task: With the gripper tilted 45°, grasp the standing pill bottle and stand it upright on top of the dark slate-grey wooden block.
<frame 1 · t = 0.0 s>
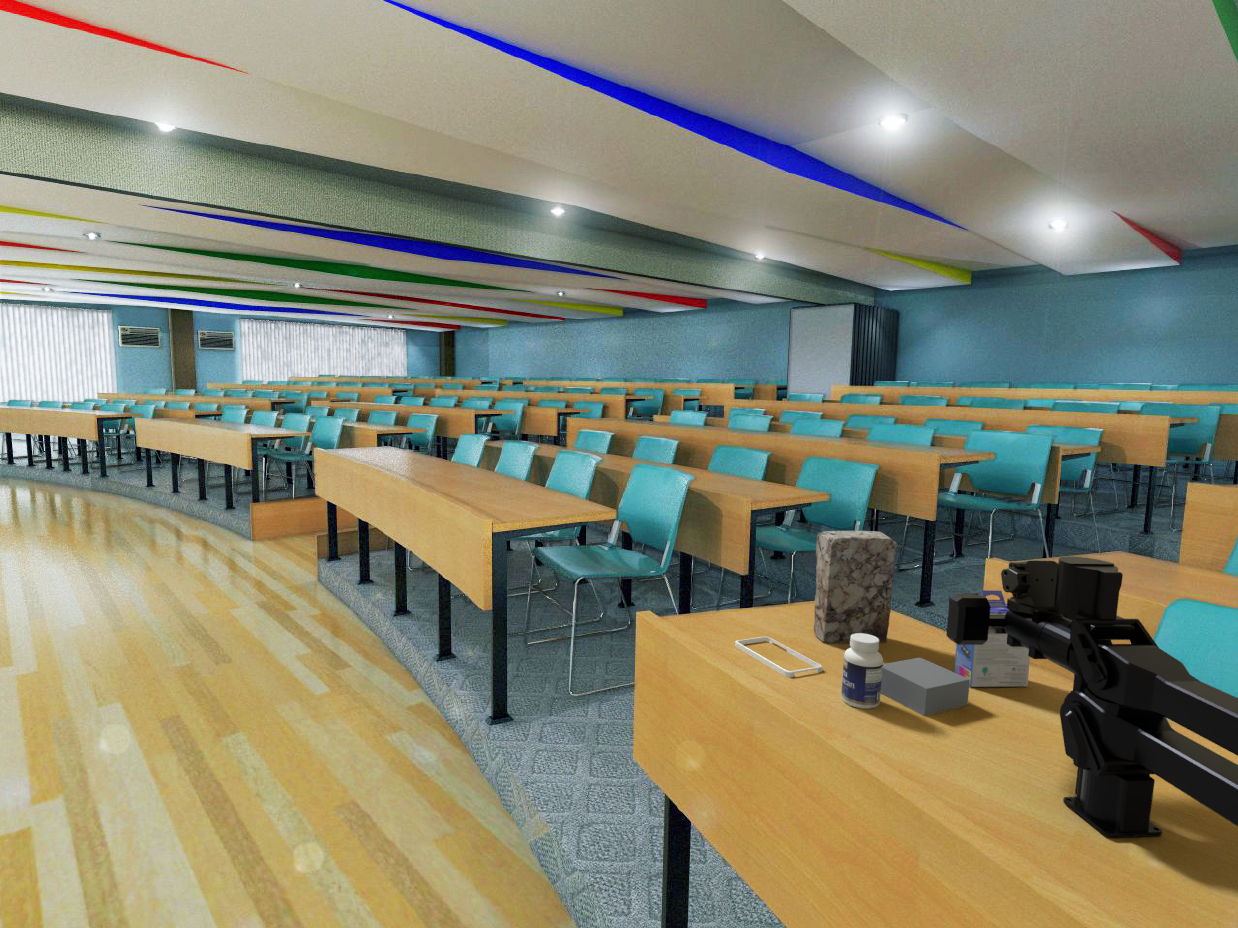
hand: (980, 600, 99), 17 cm above the table, tool horizontal, fingers open, 9 cm apart
pill bottle: (859, 702, 103), on the table
ink cartridge box: (989, 681, 112), on the table
stone block: (849, 639, 129), on the table
phone case: (776, 661, 119), on the table
slate block: (920, 697, 105), on the table
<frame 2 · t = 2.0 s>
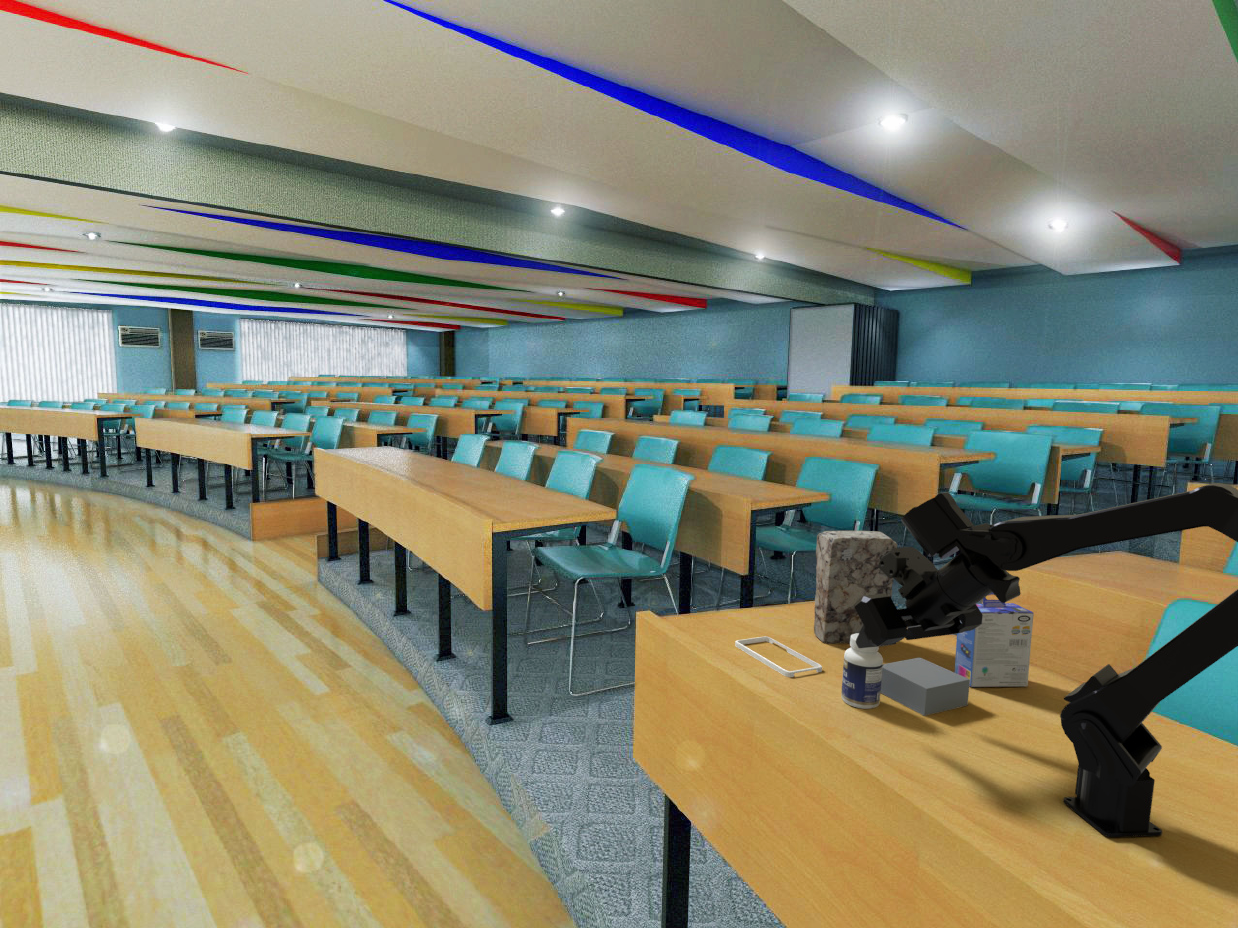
hand: (882, 640, 99), 10 cm above the table, tool tilted 45°, fingers open, 9 cm apart
nothing on the table moved.
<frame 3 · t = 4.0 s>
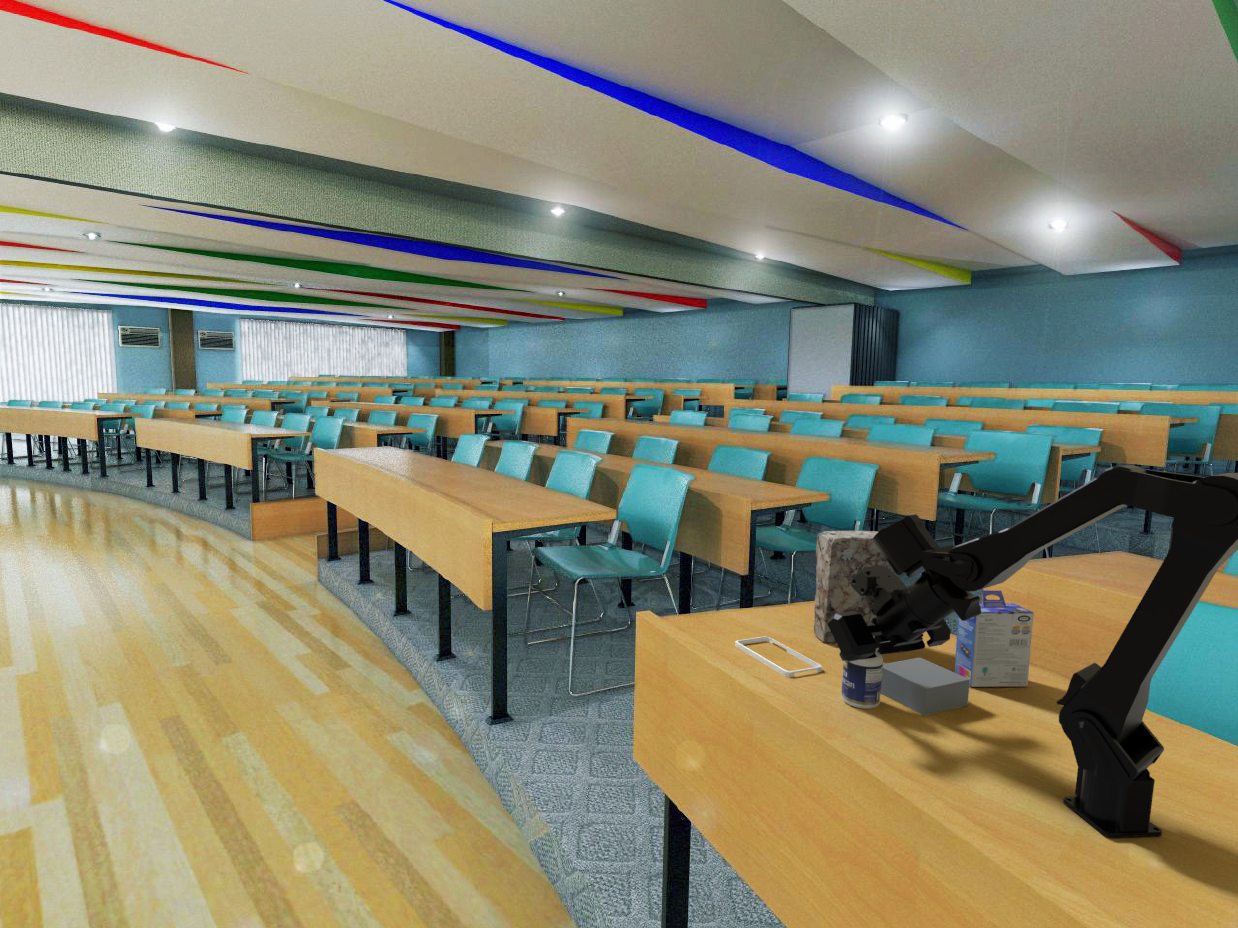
hand: (856, 654, 103), 7 cm above the table, tool tilted 45°, fingers closed on pill bottle, 5 cm apart
pill bottle: (859, 702, 103), on the table, touching gripper
everything else where it was.
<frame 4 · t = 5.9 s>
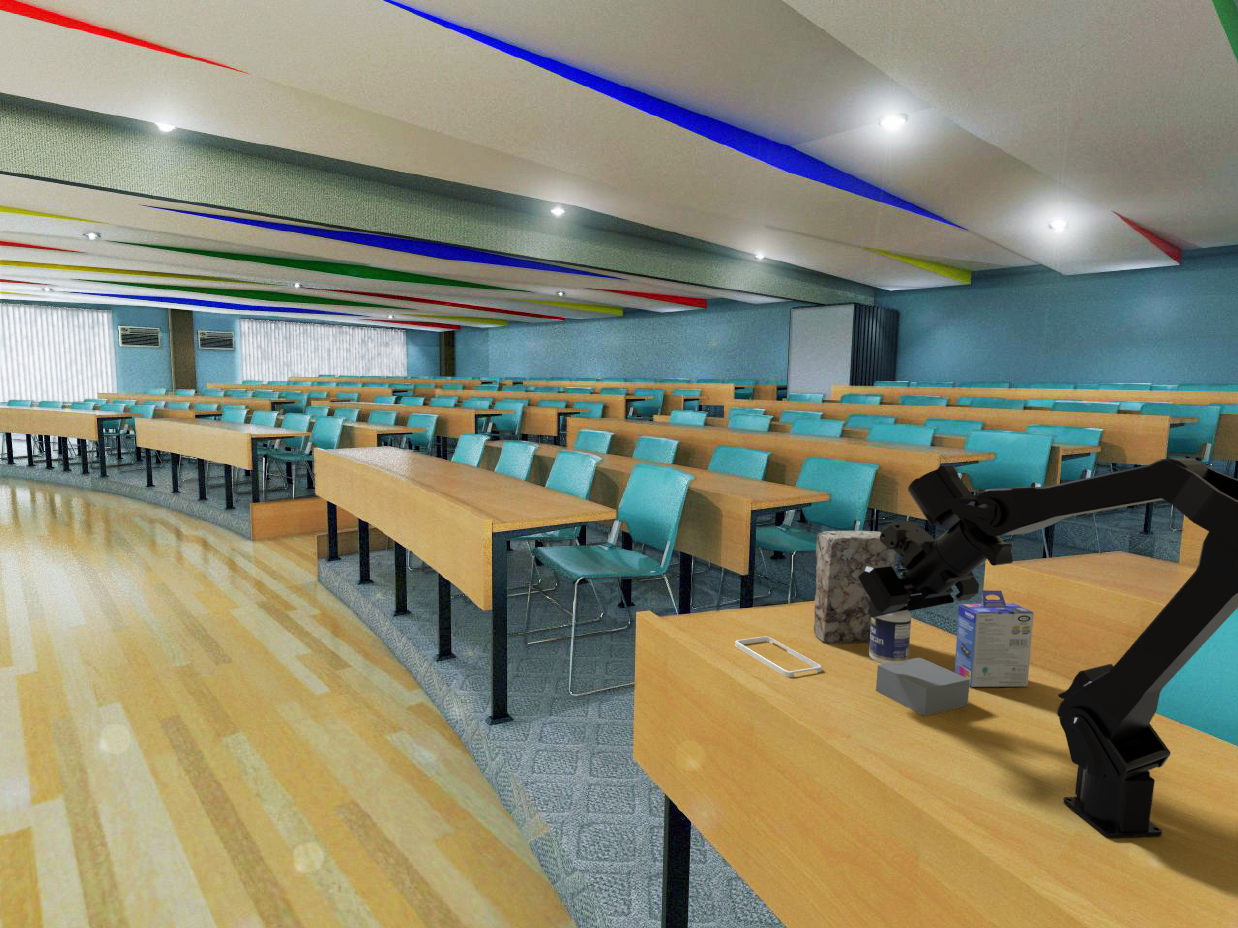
hand: (883, 612, 103), 13 cm above the table, tool tilted 45°, fingers closed on pill bottle, 5 cm apart
pill bottle: (888, 660, 102), point 6 cm above the table, touching gripper
everything else where it was.
when the fingers open (12 cm above the table, at t = 7.8 s): pill bottle drops 1 cm, resting on slate block.
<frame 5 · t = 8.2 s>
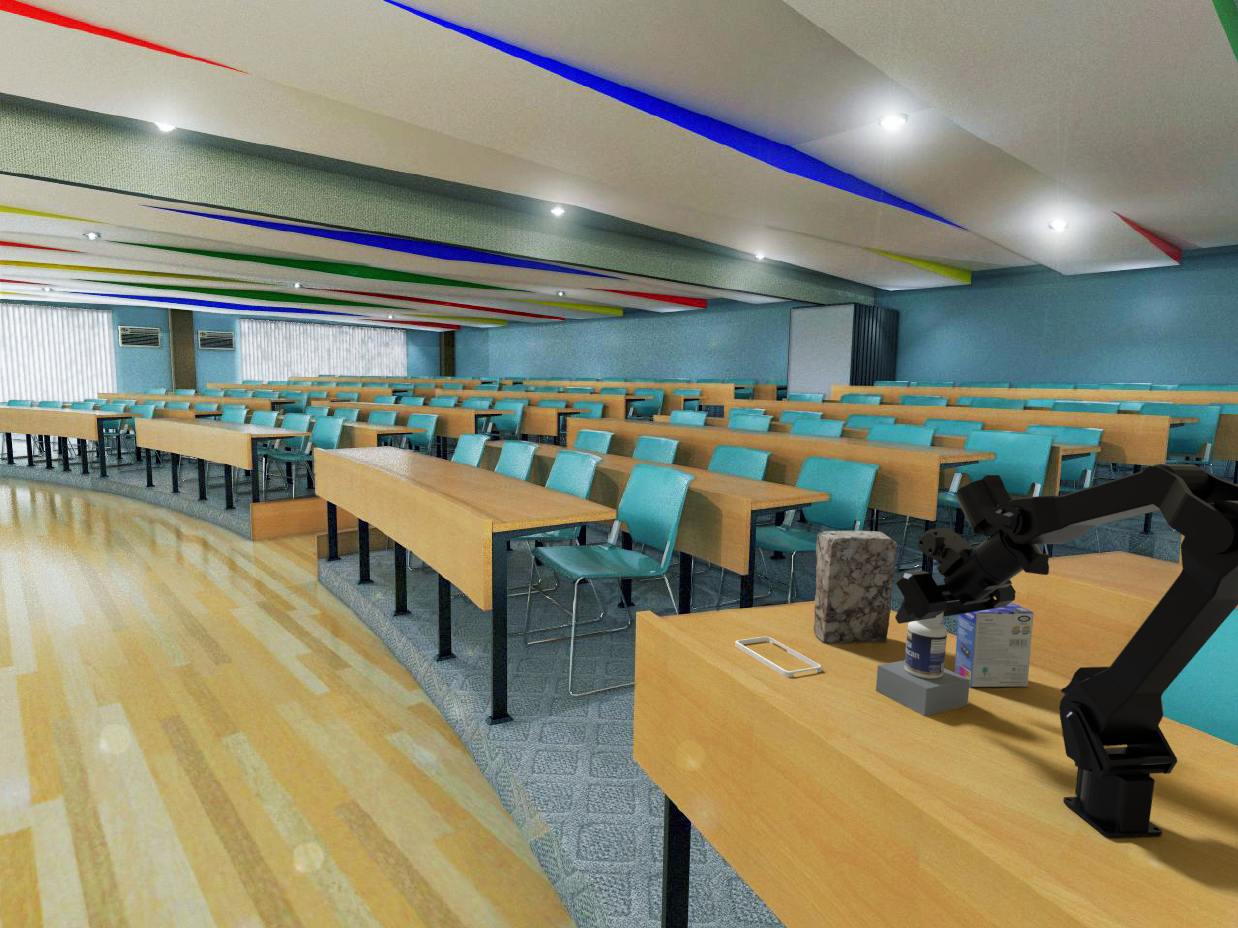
hand: (919, 617, 105), 12 cm above the table, tool tilted 45°, fingers open, 9 cm apart
pill bottle: (923, 673, 104), point 4 cm above the table, touching slate block
everything else where it was.
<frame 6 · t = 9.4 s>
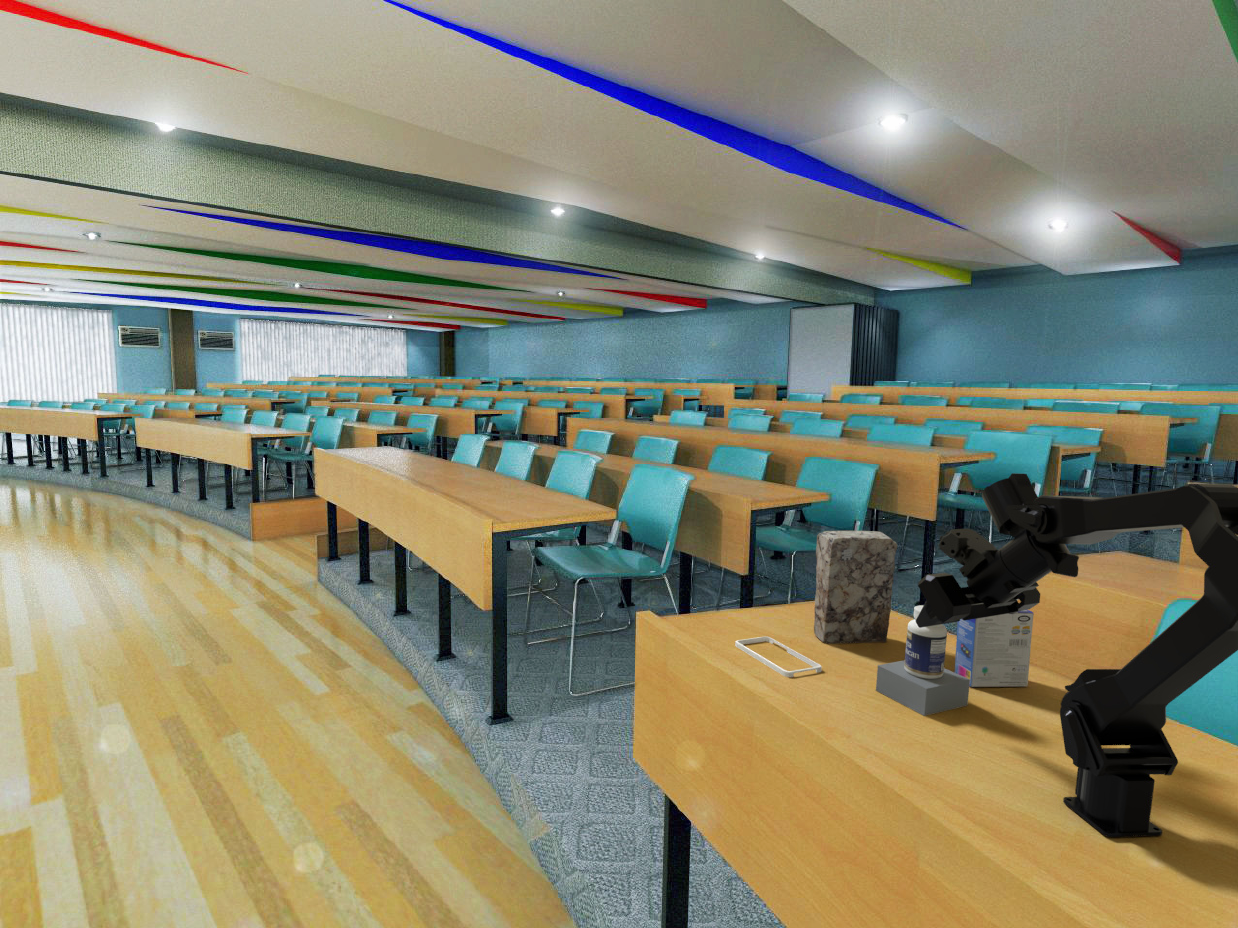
hand: (940, 620, 101), 13 cm above the table, tool tilted 45°, fingers open, 9 cm apart
nothing on the table moved.
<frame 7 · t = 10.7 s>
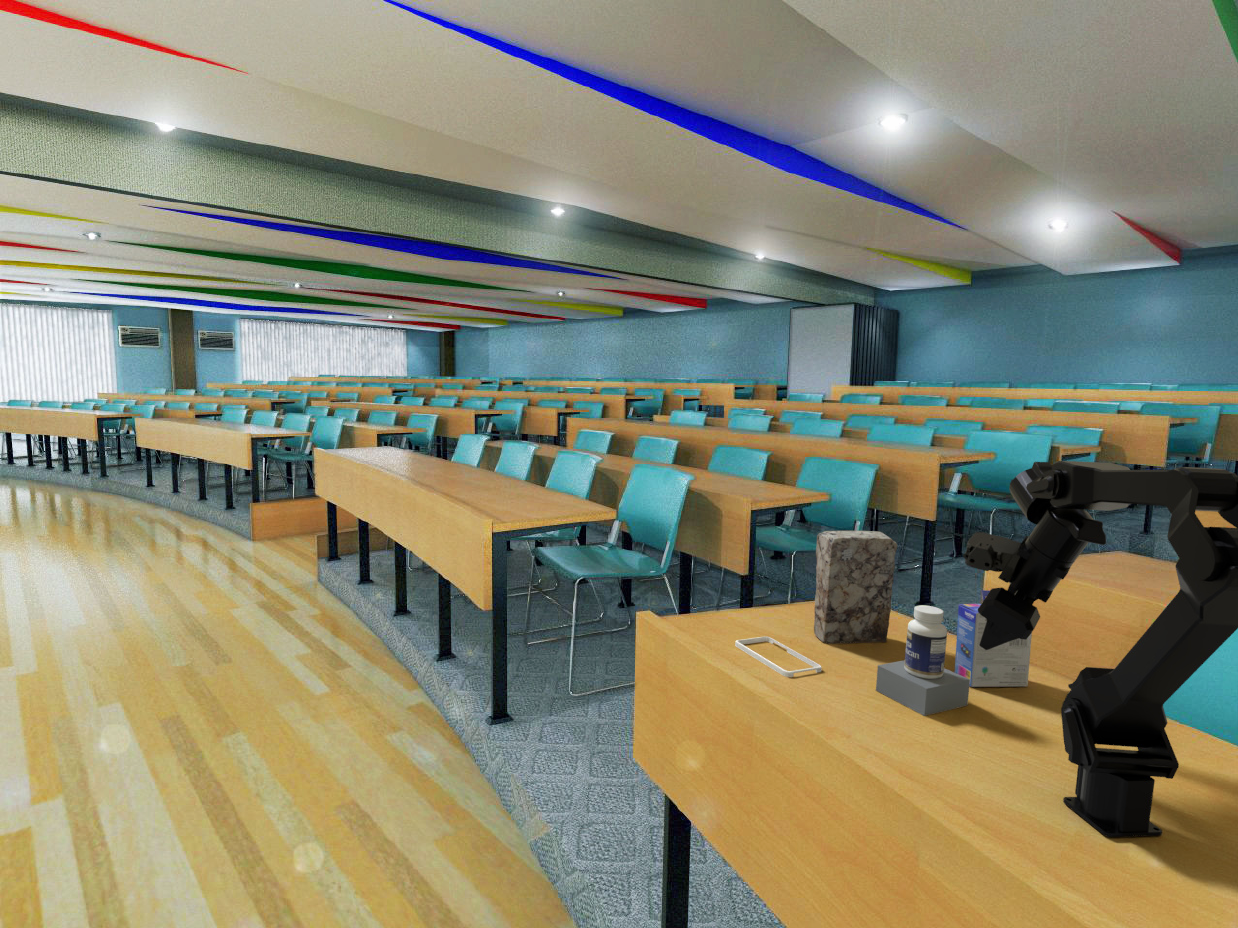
hand: (992, 631, 97), 13 cm above the table, tool tilted 30°, fingers open, 9 cm apart
nothing on the table moved.
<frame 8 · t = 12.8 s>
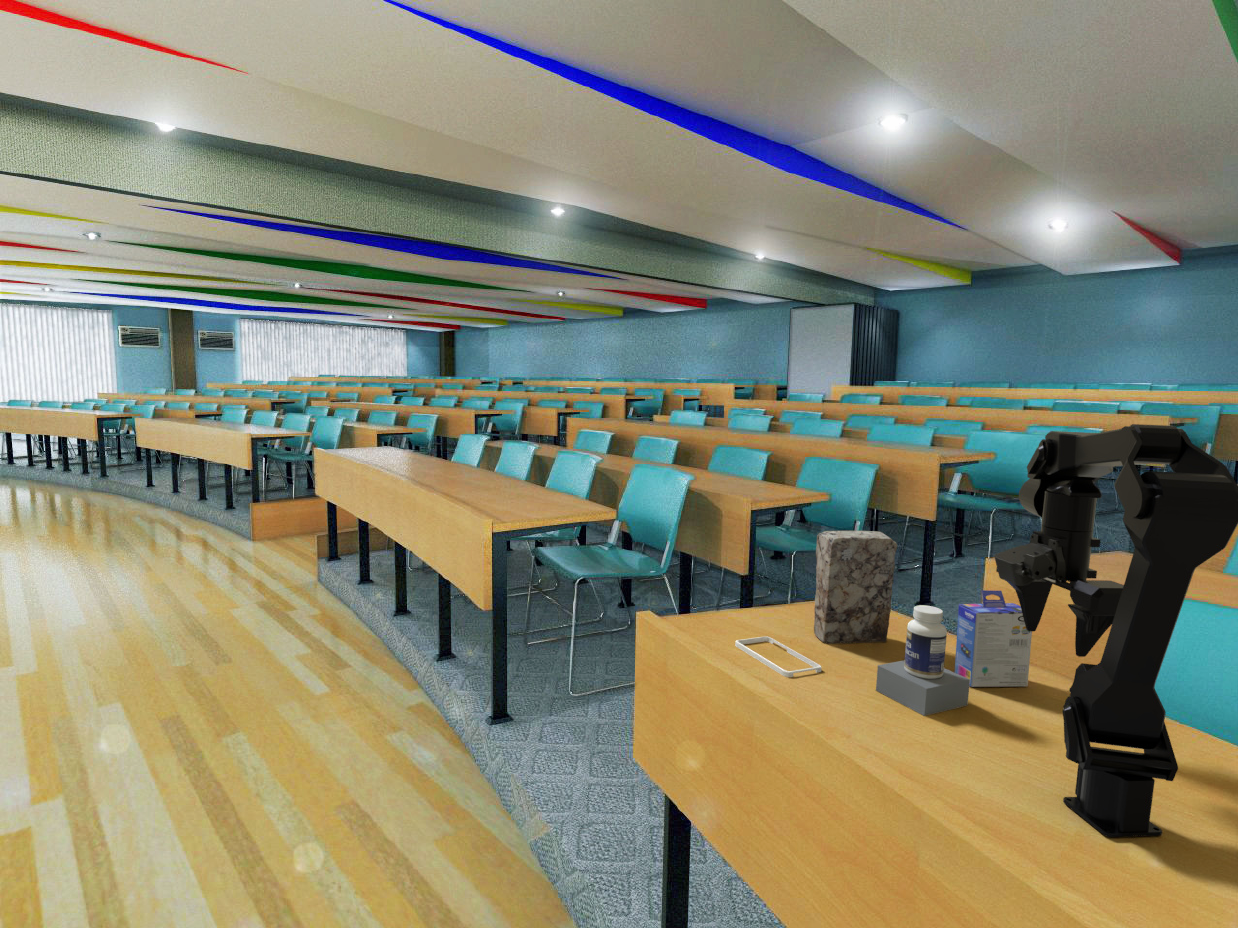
hand: (1054, 642, 93), 13 cm above the table, tool pointing down, fingers open, 9 cm apart
nothing on the table moved.
at the end: pill bottle 0.2 cm off-centre on the slate block, point 3.8 cm above the slate block's base; pill bottle tilted 0°; the gripper is holding nothing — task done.
